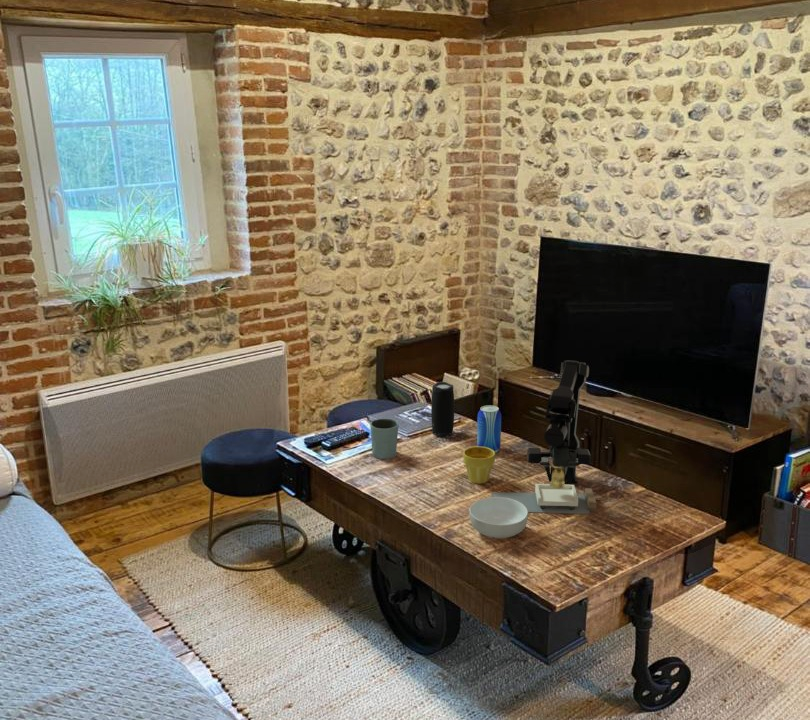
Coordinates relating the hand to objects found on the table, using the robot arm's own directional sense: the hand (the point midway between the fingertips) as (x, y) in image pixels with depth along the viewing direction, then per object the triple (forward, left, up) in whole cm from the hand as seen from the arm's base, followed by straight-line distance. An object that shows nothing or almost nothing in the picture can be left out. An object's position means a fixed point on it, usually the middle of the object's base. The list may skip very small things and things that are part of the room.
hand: (557, 481), depth 246 cm
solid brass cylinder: (0, 0, -1) cm, 1 cm away
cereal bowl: (+19, -19, -8) cm, 28 cm away
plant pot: (-16, -24, -8) cm, 30 cm away
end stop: (0, +10, -7) cm, 13 cm away
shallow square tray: (0, 0, -7) cm, 7 cm away
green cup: (-35, -57, -8) cm, 67 cm away
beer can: (-41, -20, -8) cm, 46 cm away
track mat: (0, -5, -7) cm, 9 cm away
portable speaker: (-56, -37, -8) cm, 67 cm away
